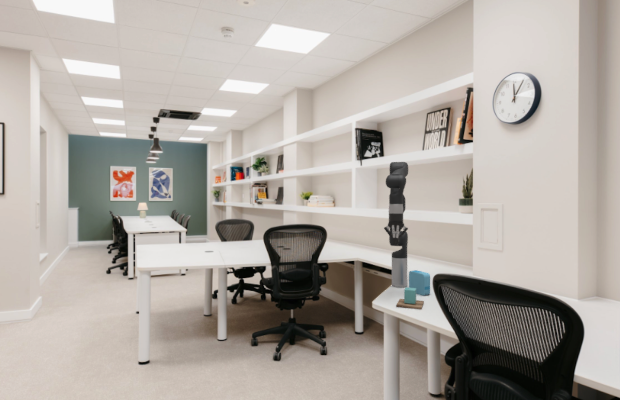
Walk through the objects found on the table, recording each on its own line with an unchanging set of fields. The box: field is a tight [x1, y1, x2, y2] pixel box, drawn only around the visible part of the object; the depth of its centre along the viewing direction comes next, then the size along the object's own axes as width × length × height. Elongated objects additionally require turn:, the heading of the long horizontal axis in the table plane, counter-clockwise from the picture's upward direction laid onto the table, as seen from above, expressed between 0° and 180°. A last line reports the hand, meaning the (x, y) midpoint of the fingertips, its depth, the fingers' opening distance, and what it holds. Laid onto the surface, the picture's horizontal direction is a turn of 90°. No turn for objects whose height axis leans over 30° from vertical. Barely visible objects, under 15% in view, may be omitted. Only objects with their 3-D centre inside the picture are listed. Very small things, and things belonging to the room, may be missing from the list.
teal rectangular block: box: [403, 286, 417, 304], centre depth 189 cm, size 5×5×7 cm
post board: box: [395, 298, 425, 310], centre depth 189 cm, size 12×12×7 cm
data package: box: [408, 269, 431, 296], centre depth 212 cm, size 12×4×12 cm, turn 28°
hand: (396, 244), depth 202 cm, fingers closed
